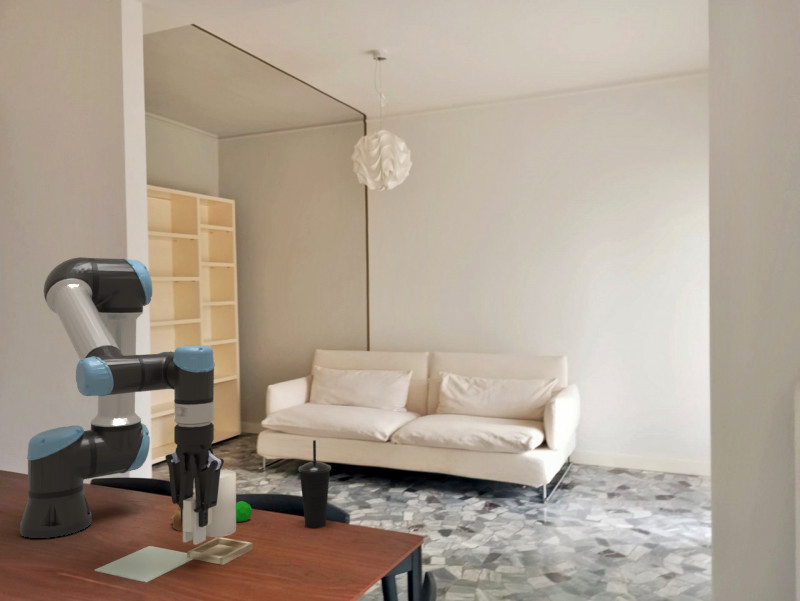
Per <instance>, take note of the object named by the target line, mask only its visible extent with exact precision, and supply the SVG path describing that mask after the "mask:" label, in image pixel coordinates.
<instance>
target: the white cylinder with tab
mask: <svg viewBox="0 0 800 601" xmlns="http://www.w3.org/2000/svg"><path fill="white" fill-rule="evenodd" d="M236 503H237V473H236V471H234V470H230V469H221V470H220V479H219V489H218V498H217V505H216V506H214V507H211V508H209V509H208V525H206V538H207V537H208V538H217V537H222V538H224V537H227V536H230V535H233V534H234V533H235V532H236V531H237V521H236ZM196 508H197V507H196V495H193V497H191V498H188V499H186V500H183V531H187V532H193V511H194V509H196ZM183 531H182V532H183Z"/></svg>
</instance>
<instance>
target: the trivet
mask: <svg viewBox="0 0 800 601" xmlns="http://www.w3.org/2000/svg"><path fill="white" fill-rule="evenodd" d="M193 560H195V559H194V558H189V557H187V552H185V551H178V550H173V549H167V548H163V547H157V546H153V545H148V546H146V547H143V548H142V549H141V548H140V550H139V549H138V550H136V551H134V552H132V553H130V554H128V555H125V556H122V557H121V558H118V559H116V560H113V561H112V562H109V563H107V564H105V565H103V566H100V567H98V568H95V569H94V570H93V571H95V572H98V573H102V574H107V575H111V576H116V577H121V578H124V579H129V580H133V581H138V582H142V583H148V582H150V581H153V580H154V579H157V578H158V577H160V576H163V575H164V574H166V573H168V572H171V571H173V570H175V569H176V568H179V567H181V566H183V565H184V564H187V563H189V562H191V561H193Z"/></svg>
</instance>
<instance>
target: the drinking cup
mask: <svg viewBox="0 0 800 601" xmlns="http://www.w3.org/2000/svg"><path fill="white" fill-rule="evenodd" d="M331 470H332V466H331V465H329V464H327V463H326V462H322V461H317V441H316V440H312V461H309V462H307V463H304V464H303V465H300V466H299V467H298V471H299V476H300V488H301V496H302V506H303V507H302V509H303V517H304V527H306V528H308V527H309V529H320V528H323V527H324V526H325V525H327V524H326V523H327V522H326V521H327V509H328V497H329V483H330V472H331Z"/></svg>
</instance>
